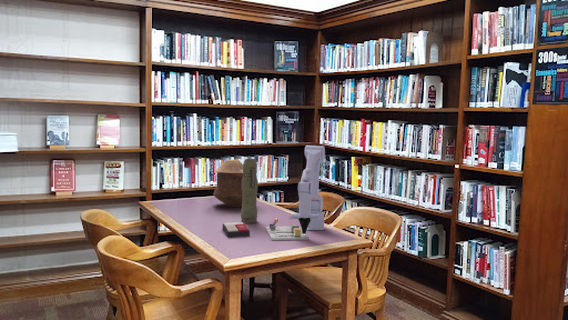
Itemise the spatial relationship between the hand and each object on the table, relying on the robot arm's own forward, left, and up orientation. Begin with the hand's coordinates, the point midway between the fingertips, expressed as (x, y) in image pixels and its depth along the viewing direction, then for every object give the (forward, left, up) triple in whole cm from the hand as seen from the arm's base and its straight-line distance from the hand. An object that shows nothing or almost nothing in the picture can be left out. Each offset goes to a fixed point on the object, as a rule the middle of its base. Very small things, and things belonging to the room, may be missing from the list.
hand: (304, 233), depth 224 cm
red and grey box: (+32, -13, -3) cm, 35 cm away
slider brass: (+3, 0, -1) cm, 3 cm away
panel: (+7, -8, -2) cm, 11 cm away
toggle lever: (+13, -15, 0) cm, 20 cm away
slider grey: (+3, -7, -1) cm, 8 cm away
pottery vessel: (+29, -80, -3) cm, 85 cm away
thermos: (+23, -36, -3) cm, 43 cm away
